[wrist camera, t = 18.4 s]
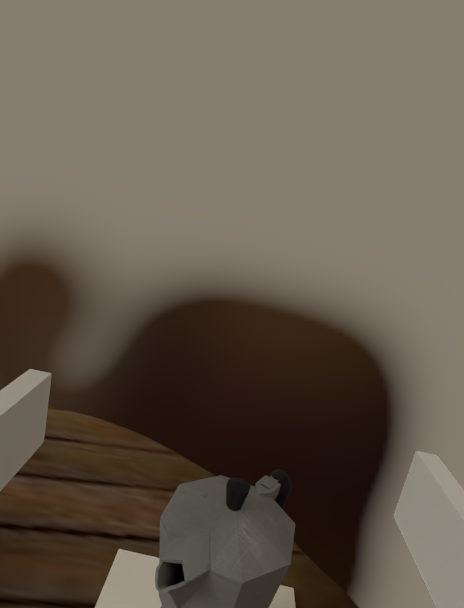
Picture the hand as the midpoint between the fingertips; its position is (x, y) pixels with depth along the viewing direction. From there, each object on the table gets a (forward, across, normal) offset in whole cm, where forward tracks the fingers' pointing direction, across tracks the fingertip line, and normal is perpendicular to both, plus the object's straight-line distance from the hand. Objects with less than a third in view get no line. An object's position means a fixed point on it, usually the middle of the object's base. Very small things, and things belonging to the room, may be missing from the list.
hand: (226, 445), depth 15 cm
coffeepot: (+12, +3, -28) cm, 30 cm away
